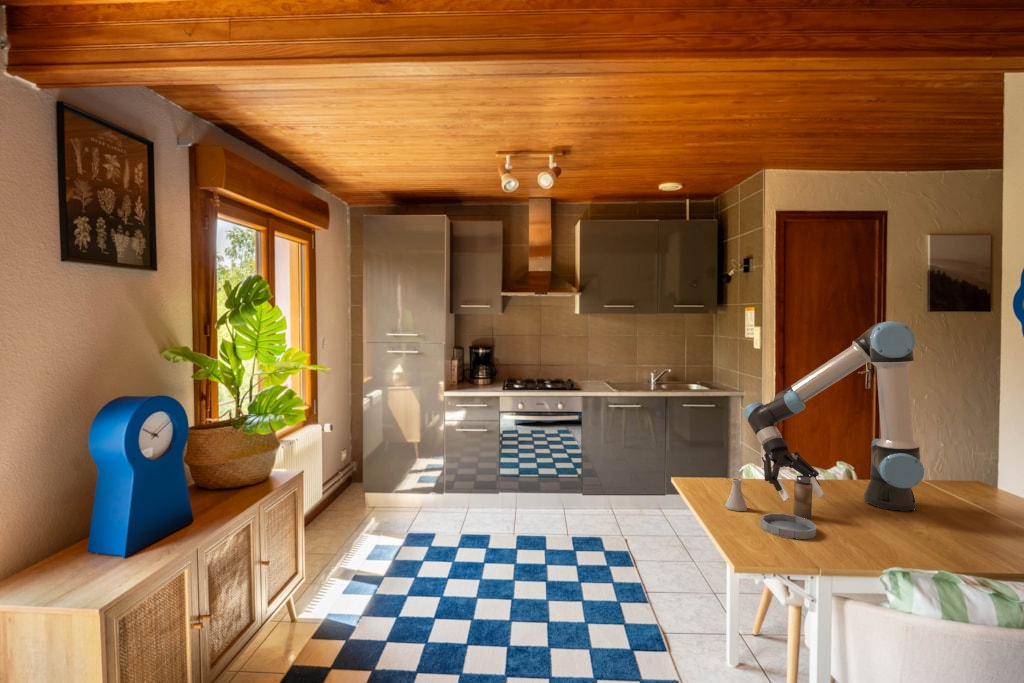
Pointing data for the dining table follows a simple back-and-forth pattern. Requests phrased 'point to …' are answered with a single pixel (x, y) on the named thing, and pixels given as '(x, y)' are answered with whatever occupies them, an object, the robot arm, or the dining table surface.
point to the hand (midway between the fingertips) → (804, 498)
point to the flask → (736, 497)
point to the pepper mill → (803, 497)
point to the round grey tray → (788, 526)
